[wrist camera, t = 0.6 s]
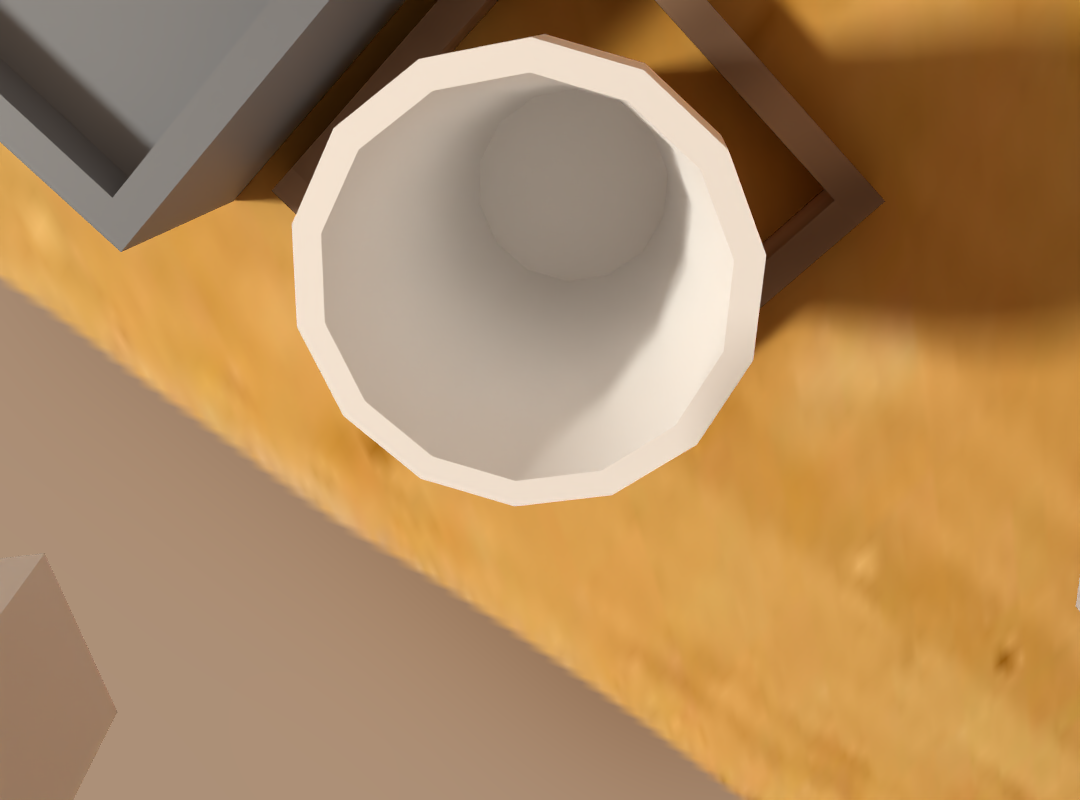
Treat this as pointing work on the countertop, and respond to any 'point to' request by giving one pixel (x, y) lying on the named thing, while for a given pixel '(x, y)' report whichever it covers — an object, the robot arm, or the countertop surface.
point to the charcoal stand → (166, 96)
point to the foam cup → (528, 271)
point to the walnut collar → (694, 15)
